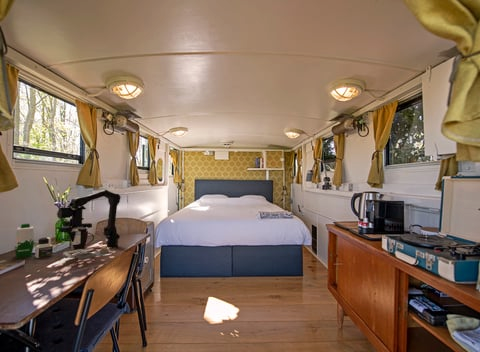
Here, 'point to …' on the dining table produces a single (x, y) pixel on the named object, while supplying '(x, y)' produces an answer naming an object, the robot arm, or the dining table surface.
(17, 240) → the milk carton
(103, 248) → the plunger
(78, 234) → the cartridge
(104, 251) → the filter head
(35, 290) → the dining table surface
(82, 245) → the cup
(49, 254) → the medicine bottle
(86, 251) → the tray
